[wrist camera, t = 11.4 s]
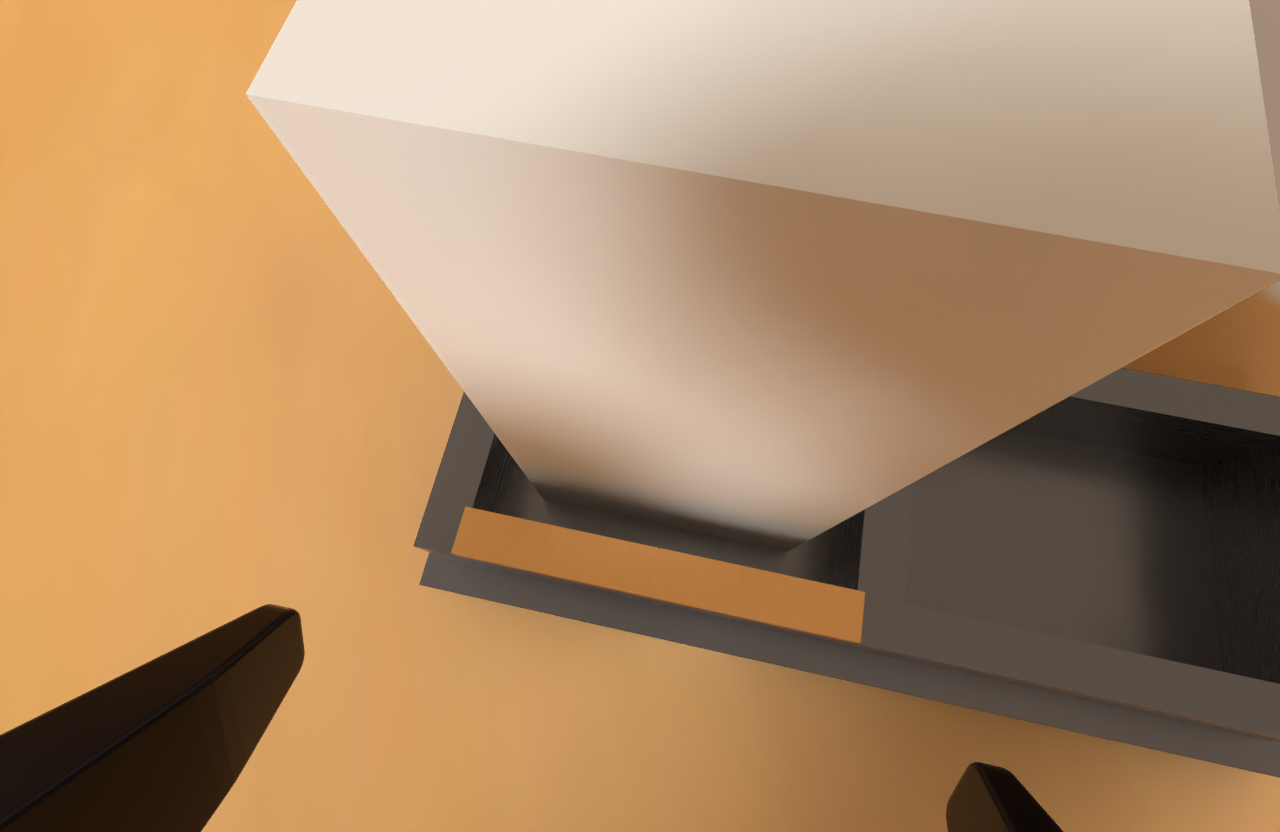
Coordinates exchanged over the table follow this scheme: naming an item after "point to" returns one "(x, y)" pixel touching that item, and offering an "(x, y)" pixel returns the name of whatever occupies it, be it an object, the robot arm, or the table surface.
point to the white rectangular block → (781, 222)
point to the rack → (957, 570)
